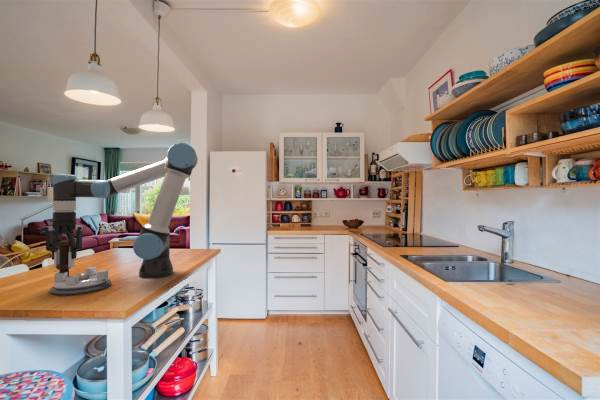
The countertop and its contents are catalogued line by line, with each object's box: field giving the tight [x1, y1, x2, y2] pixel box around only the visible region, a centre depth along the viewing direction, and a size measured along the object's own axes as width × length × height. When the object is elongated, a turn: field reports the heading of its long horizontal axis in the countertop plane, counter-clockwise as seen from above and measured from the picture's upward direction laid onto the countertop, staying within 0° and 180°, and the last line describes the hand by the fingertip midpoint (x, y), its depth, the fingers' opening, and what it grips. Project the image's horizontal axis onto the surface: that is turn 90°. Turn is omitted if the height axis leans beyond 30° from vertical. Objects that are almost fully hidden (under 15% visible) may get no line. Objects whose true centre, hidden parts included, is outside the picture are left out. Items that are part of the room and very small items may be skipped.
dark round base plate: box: [49, 278, 112, 297], centre depth 118 cm, size 20×20×2 cm
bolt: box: [55, 240, 70, 277], centre depth 119 cm, size 6×5×15 cm
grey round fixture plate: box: [52, 266, 109, 291], centre depth 118 cm, size 18×18×5 cm
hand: (64, 266), depth 119 cm, fingers closed on bolt, 4 cm apart
